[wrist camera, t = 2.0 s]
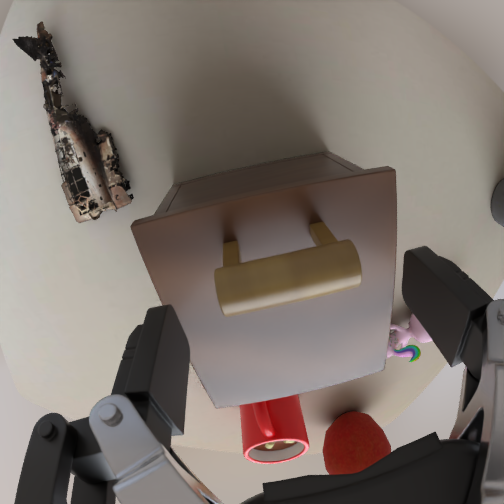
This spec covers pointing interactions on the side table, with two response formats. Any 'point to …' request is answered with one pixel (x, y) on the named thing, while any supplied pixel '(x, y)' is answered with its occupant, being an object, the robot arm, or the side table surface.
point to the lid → (280, 283)
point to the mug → (273, 430)
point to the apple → (354, 444)
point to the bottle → (498, 203)
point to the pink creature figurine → (402, 338)
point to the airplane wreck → (77, 143)
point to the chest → (254, 179)
